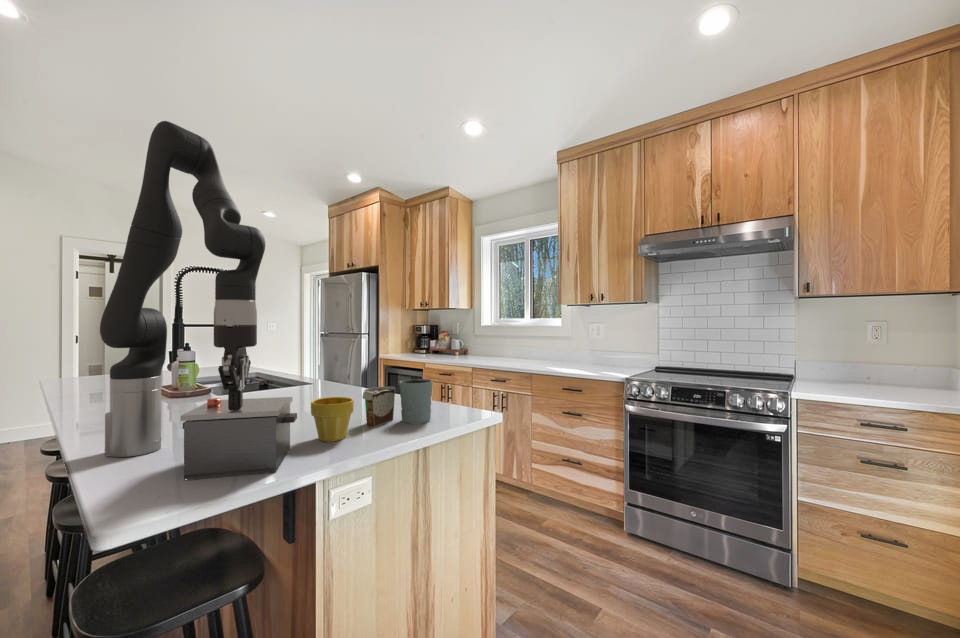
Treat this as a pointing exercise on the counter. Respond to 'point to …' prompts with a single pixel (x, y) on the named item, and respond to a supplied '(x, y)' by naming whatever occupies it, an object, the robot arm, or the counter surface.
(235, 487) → the counter surface
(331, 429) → the plant pot
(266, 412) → the storage bin lid
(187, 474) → the grey metal storage bin
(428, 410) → the grey green cup
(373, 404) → the food container
